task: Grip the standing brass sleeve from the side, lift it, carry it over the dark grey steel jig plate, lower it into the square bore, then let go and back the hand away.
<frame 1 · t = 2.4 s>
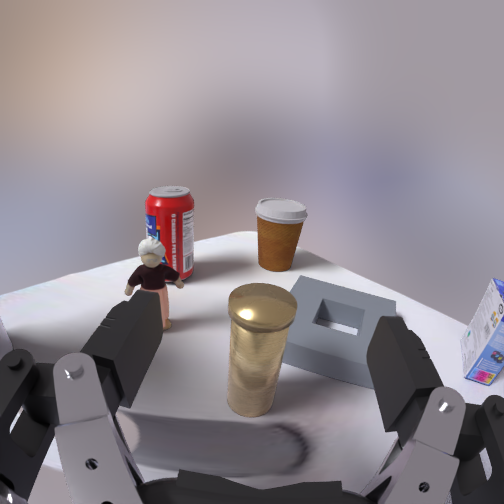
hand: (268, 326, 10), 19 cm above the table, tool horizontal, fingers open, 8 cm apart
grandmother figurine: (159, 325, 38), on the table
ink cartridge box: (474, 363, 33), on the table
soda can: (171, 275, 51), on the table
jig plate: (334, 335, 39), on the table
brass sleeve: (250, 399, 29), on the table
disposable coffee cup: (274, 264, 58), on the table
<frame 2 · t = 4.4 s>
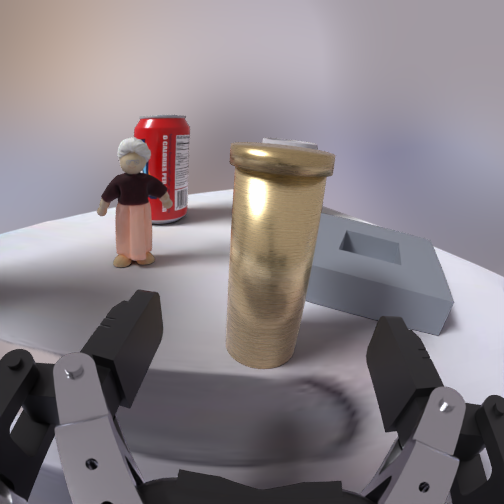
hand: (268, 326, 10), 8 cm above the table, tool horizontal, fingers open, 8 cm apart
grandmother figurine: (139, 261, 30), on the table
soda can: (161, 219, 42), on the table
jig plate: (364, 275, 31), on the table
brass sleeve: (260, 344, 20), on the table
disposable coffee cup: (282, 213, 49), on the table
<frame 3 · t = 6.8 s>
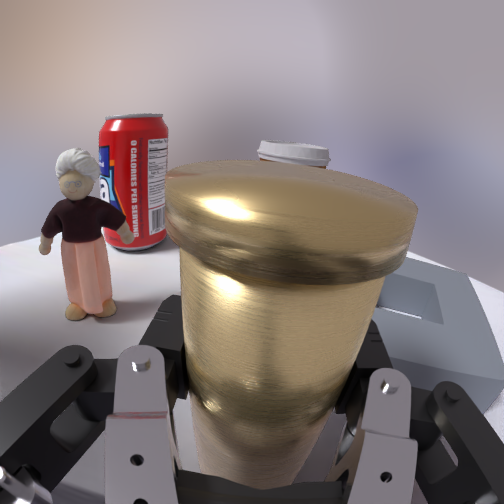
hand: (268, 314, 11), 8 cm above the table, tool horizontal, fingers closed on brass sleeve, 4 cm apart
grandmother figurine: (97, 310, 21), on the table
soda can: (136, 242, 34), on the table
jig plate: (390, 328, 22), on the table
brass sleeve: (248, 462, 12), on the table, touching gripper
disposable coffee cup: (284, 232, 41), on the table
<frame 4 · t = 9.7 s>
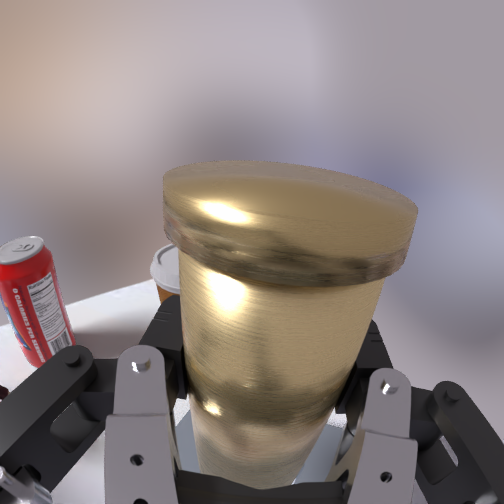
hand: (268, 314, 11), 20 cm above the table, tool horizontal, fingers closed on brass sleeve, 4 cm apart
soda can: (52, 353, 30), on the table
jig plate: (249, 493, 19), on the table
brass sleeve: (248, 462, 12), point 12 cm above the table, touching gripper
disposable coffee cup: (194, 339, 37), on the table
when the fingers open (9 cm above the table, at t = 13.1 s): brass sleeve drops 1 cm, resting in jig plate.
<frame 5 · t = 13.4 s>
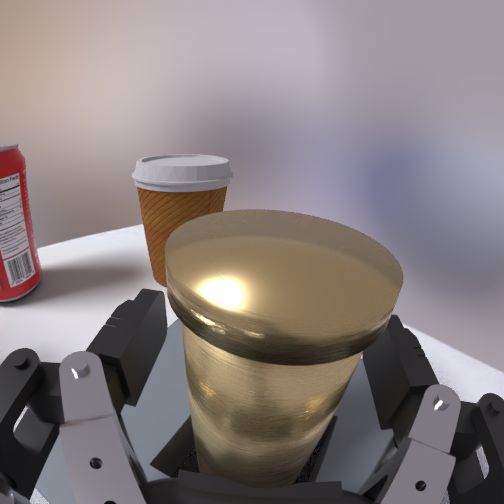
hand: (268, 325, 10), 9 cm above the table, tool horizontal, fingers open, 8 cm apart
soda can: (14, 289, 24), on the table
jig plate: (246, 472, 12), on the table
brass sleeve: (246, 474, 12), resting in jig plate
disposable coffee cup: (182, 275, 31), on the table
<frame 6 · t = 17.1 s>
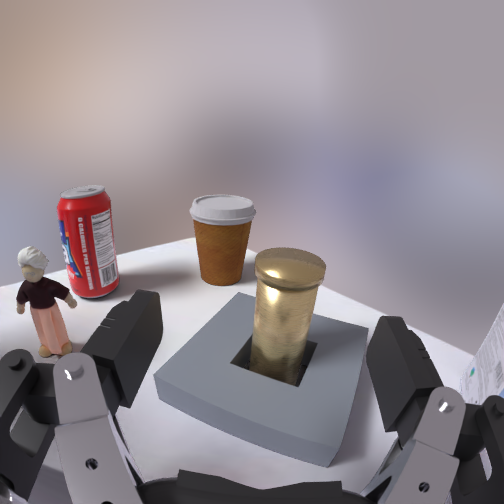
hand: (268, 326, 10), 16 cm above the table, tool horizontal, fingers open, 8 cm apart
grandmother figurine: (60, 350, 27), on the table
ink cartridge box: (478, 412, 21), on the table
soda can: (96, 289, 40), on the table
jig plate: (272, 377, 28), on the table
brass sleeve: (272, 378, 28), resting in jig plate
disposable coffee cup: (221, 277, 47), on the table
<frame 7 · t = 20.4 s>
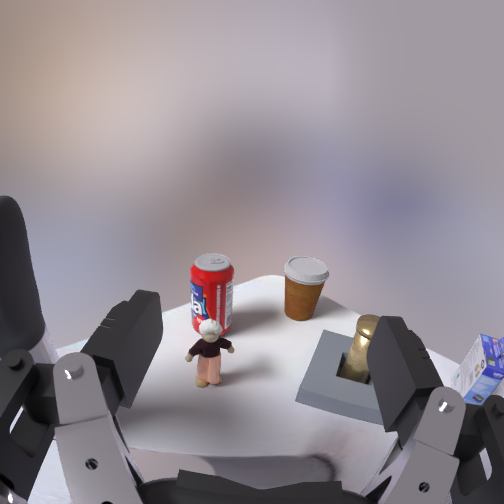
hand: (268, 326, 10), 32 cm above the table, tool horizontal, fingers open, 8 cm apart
grandmother figurine: (211, 379, 46), on the table
ink cartridge box: (461, 398, 40), on the table
soda can: (211, 327, 58), on the table
jig plate: (351, 381, 46), on the table
brass sleeve: (351, 381, 46), resting in jig plate
disposable coffee cup: (298, 313, 65), on the table
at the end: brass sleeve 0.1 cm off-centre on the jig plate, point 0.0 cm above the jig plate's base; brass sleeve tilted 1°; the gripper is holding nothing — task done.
